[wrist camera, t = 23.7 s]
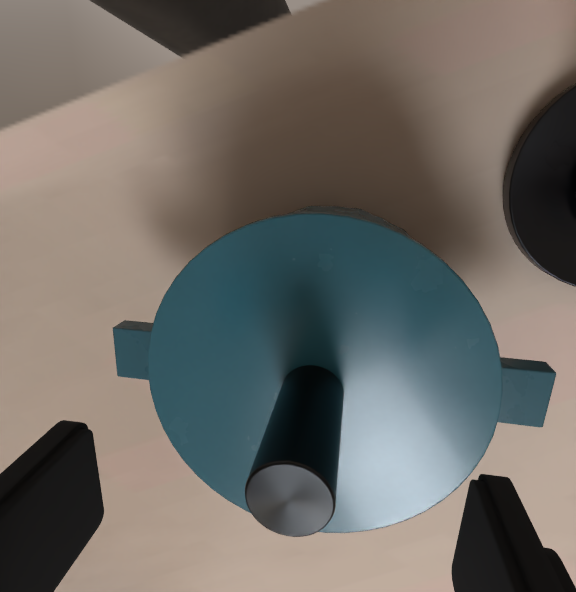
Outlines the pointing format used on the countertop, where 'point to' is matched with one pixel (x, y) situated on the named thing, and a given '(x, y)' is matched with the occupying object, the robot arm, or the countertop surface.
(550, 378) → the pot
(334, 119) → the countertop surface
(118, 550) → the countertop surface
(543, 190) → the black plate
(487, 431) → the lid
